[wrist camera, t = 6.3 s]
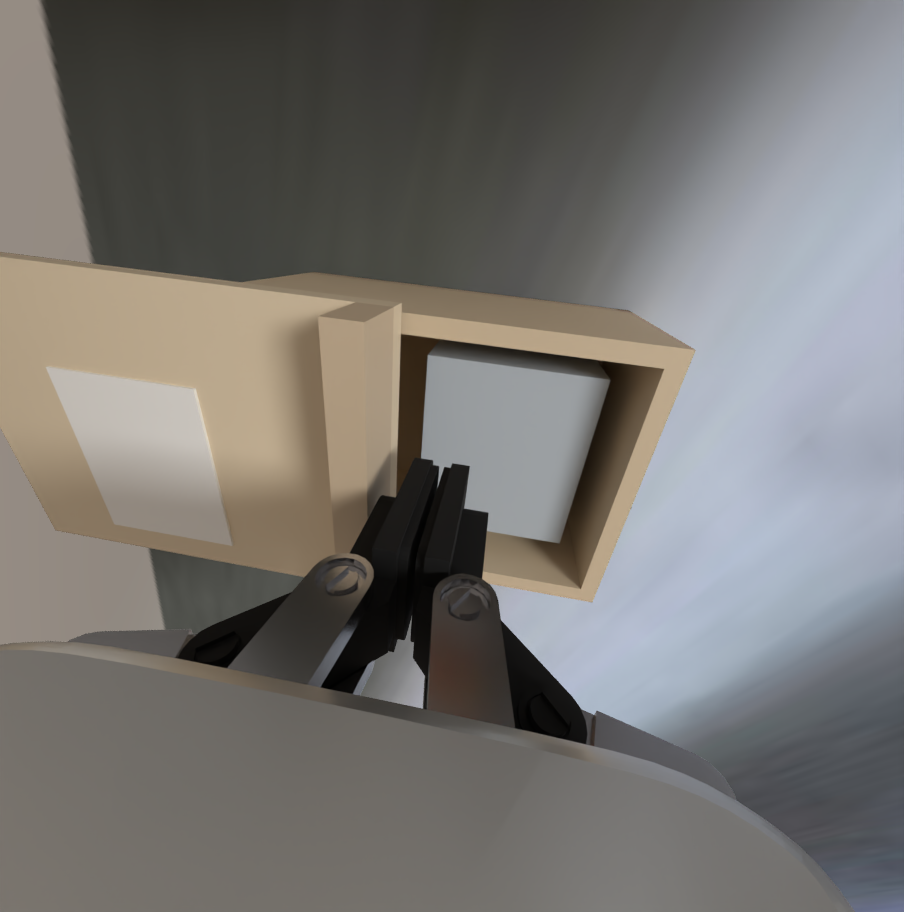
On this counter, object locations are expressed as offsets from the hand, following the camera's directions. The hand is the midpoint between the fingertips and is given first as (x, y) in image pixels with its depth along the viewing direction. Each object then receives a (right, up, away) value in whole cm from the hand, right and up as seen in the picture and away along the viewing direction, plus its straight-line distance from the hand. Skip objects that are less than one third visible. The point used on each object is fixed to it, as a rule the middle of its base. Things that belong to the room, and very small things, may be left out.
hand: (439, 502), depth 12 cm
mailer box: (+1, +4, +8) cm, 9 cm away
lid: (-9, +2, +2) cm, 9 cm away
